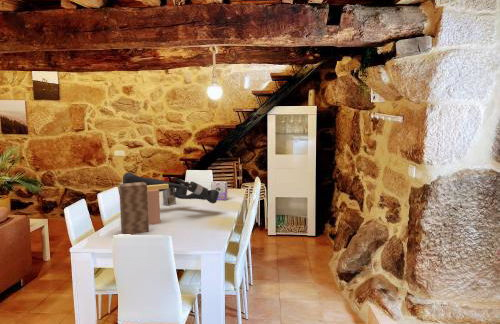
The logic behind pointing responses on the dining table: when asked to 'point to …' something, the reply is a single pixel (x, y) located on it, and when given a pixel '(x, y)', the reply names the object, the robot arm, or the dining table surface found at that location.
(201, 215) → the dining table surface
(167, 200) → the coffee box
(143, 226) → the plinth
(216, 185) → the candy box
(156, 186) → the dowel
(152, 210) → the terracotta base
